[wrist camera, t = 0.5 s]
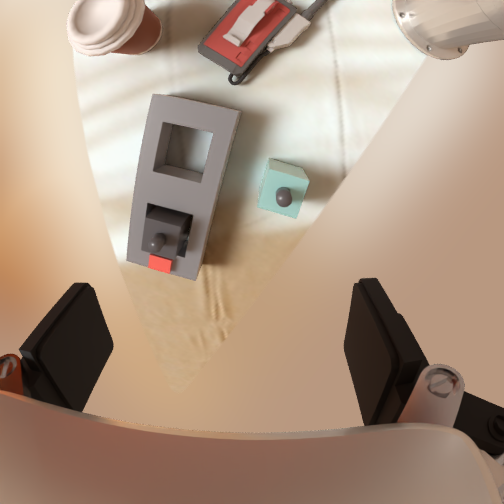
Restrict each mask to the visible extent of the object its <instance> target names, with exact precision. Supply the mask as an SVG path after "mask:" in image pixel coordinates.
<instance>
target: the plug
mask: <svg viewBox="0 0 504 504" xmlns="http://www.w3.org/2000/svg"><path fill="white" fill-rule="evenodd" d="M309 182H310V181H309V179H308V177H307V176H306V174H305V172H304V170H303V169H302V168H300V167H297V166H293V165H290V164H287V163H284V162H280V161H277V160H274V159H270V158H269V159H268V162H267V166H266V169H265V172H264V175H263V179H262V182H261V185H260V188H259V195H258V204H257V207H258V208H261V209H265V210H268V211H272V212H275V213H279V214H282V215H285V216H289V217H292V218H295V219H296V218H297V215H298V213H299V210H300V207H301V204H302V202H303V199H304V196H305V193H306V190H307V187H308V185H309Z"/></svg>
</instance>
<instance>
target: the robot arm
mask: <svg viewBox="0 0 504 504" xmlns="http://www.w3.org/2000/svg"><path fill="white" fill-rule="evenodd" d="M392 7H393V13H394V16H395V19H396V22H397V24H398V26H399V27H400V29H401V31H402V32H403V34H404V35H405V36H406V38H407V39H408V40H409V41H410V42H411V43H412V44H413V45H414V46H415V47H416V48H418V49H419V50H420V51H422V52H423V53H425V54H426V55H429V56H431V57H433V58H436V59H441V60H450V59H455V58H458V57H460V56H462V55H463V54H464V53H465V52H466V51H467V49H468V47H469V45H470V44H476V43H483V42H490V41H497V40H504V0H393V3H392ZM400 16H401V17H400ZM112 350H113V340H112V337H111V335H110V332H109V330H108V327H107V324H106V322H105V319H104V316H103V314H102V311H101V308H100V305H99V302H98V299H97V296H96V293H95V290H94V288H93V287H91V286H90V285H89V284H88V283H74V284H73V285H72V286H71V287H70V288H69V289H68V290H67V291H66V293H65V294H64V295H63V296H62V297H61V298H60V299H59V301H58V302H57V303H56V304H55V305H54V307H52V309H51V310H50V311H49V312H48V314H47V315H46V316H45V317H44V318H43V320H42V321H41V322H40V323H39V324H38V326H37V327H36V328H35V329H34V331H33V332H32V333H31V334H30V336H29V337H28V338H27V339H26V341H25V342H24V343H23V345H22V346H21V347H20V348H19V351H20V352H21V354H22V356H23V357H22V359H21V360H20V358H19V357H18V356H17V355H15V354H6V355H3V356H1V357H0V504H504V408H502V407H500V406H497V405H495V404H493V403H490V402H488V401H486V400H483V399H481V398H479V397H476V396H474V395H472V394H469V393H467V392H465V391H464V387H465V384H464V381H463V378H462V376H461V375H460V373H459V372H458V371H456V370H455V369H454V368H452V367H450V366H447V365H443V364H434V365H429V363H428V361H427V359H426V357H425V356H424V354H423V352H422V350H421V348H420V346H419V344H418V343H417V341H416V339H415V337H414V335H413V334H412V332H411V330H410V328H409V326H408V325H407V323H406V321H405V319H404V318H403V316H402V315H401V314H399V313H397V311H396V310H395V308H394V306H393V304H392V303H391V301H390V299H389V298H388V296H387V294H386V293H385V291H384V289H383V288H382V286H381V284H380V283H379V281H378V279H377V278H362V279H360V280H359V283H355V284H354V286H353V292H352V299H351V306H350V312H349V318H348V324H347V329H346V335H345V340H344V352H345V356H346V359H347V363H348V366H349V370H350V373H351V377H352V381H353V384H354V388H355V392H356V395H357V399H358V403H359V407H360V411H361V414H362V419H363V423H364V425H365V426H360V427H350V428H342V429H331V430H320V431H319V430H318V431H303V432H281V433H233V432H210V431H196V430H184V429H175V428H166V427H158V426H151V425H144V424H138V423H131V422H126V421H120V420H115V419H110V418H104V417H100V416H96V415H91V414H87V413H83V412H82V411H83V409H84V407H85V405H86V403H87V401H88V398H89V396H90V394H91V392H92V390H93V388H94V386H95V384H96V382H97V380H98V378H99V376H100V374H101V372H102V370H103V368H104V366H105V364H106V362H107V360H108V358H109V356H110V354H111V352H112Z"/></svg>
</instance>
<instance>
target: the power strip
mask: <svg viewBox="0 0 504 504" xmlns="http://www.w3.org/2000/svg"><path fill="white" fill-rule="evenodd" d="M241 113H242V111H239V110H235V109H231V108H227V107H222V106H218V105H214V104H209V103H205V102H200V101H195V100H190V99H185V98H180V97H174V96H169V95H161V94H153V95H152V99H151V103H150V107H149V112H148V116H147V121H146V126H145V130H144V135H143V140H142V146H141V151H140V156H139V162H138V168H137V174H136V181H135V187H134V194H133V202H132V210H131V218H130V227H129V237H128V247H127V260H126V261H129V262H132V263H136V264H139V265H142V266H146V267H148V268H151V269H155V270H158V271H161V272H165V273H168V274H173V275H176V276H180V277H183V278H187V279H190V280H194V281H196V279H197V276H198V274H199V271H200V268H201V266H202V262H203V258H204V254H205V249H206V245H207V241H208V237H209V233H210V229H211V224H212V220H213V216H214V212H215V208H216V204H217V200H218V197H219V193H220V189H221V185H222V181H223V177H224V174H225V170H226V166H227V162H228V159H229V155H230V151H231V148H232V144H233V141H234V137H235V133H236V130H237V126H238V123H239V119H240V116H241ZM173 124H176V125H181V126H186V127H190V128H195V129H199V130H203V131H208V132H212V133H213V137H212V141H211V145H210V148H209V152H208V156H207V160H206V164H205V168H204V173H199V172H195V171H191V170H187V169H183V168H179V167H174V166H170V165H166V164H165V159H166V154H167V150H168V145H169V141H170V136H171V132H172V127H173ZM193 215H194V216H193ZM192 216H193V221H192V225H191V220H192ZM190 225H191V230H190ZM189 230H190V235H189ZM188 235H189V240H188V241H186V239H187V237H188Z"/></svg>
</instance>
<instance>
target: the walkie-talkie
mask: <svg viewBox="0 0 504 504" xmlns="http://www.w3.org/2000/svg"><path fill="white" fill-rule="evenodd" d="M326 1H327V0H316V1H315V2H314V3H313V4H312V5H311V6H310V7H309V8H308V9H307V10H304V11H303V12H302V13H301V14H300V15H299V14H297V13H296V9H297V8H296V7H294V6H293V5H291V4H292V2H291V1H290V0H286V1H285V0H236V1H235V2H234V3H233V4H232V6H231V7H230V8H229V9H228V11H226V13H225V14H224V15H223V17H222V18H220V20H219V21H218V22H217V24H216V25H214V27H213V28H212V30H211V31H209V33H208V35H206V37H205V38H203V41H202V42H200V45H198V52H199V53H200V54H202V55H203V56H205V57H206V58H208V59H210V60H211V61H213V62H214V63H216V64H218V65H219V66H221V67H223V68H224V69H226V70H227V71H229V72H230V75H229V77H228V81H229V82H230V83H231V84H232V85H238V84H240V83H241V82H242V81H243V80H244V78H245V77H246V76H247V75H248V73H249V72H250V71H251V70H252V68H253V67H254V66H255V65H256V64H257V62H258V61H259V60H260V59H261V58H262V57H263V56H265V55H267V54H269V53H272V52H273V51H274V50H276V49H280V48H284V47H289V46H290V45H291V44H292V43H293V42H294V41H295V40H296V39H297V38H298V36H299V35H300V34H301V33H302V32H303V31H304V30H306V29H307V28H308V27H309V26H310V24H311V23H310V22H309V20H310V19H311V18H312V17H313V14H314V13H315V12H316V11H317V10H318V9H319V8H320V7H321V6H322V5H323V4H324V3H325V2H326ZM266 47H267V51H266V52H264V53H263V51H264V50H265V49H266ZM233 75H235V76H242V77H241V78H240V79H239V80H238V81H236V82H233V81H232V77H233Z"/></svg>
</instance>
